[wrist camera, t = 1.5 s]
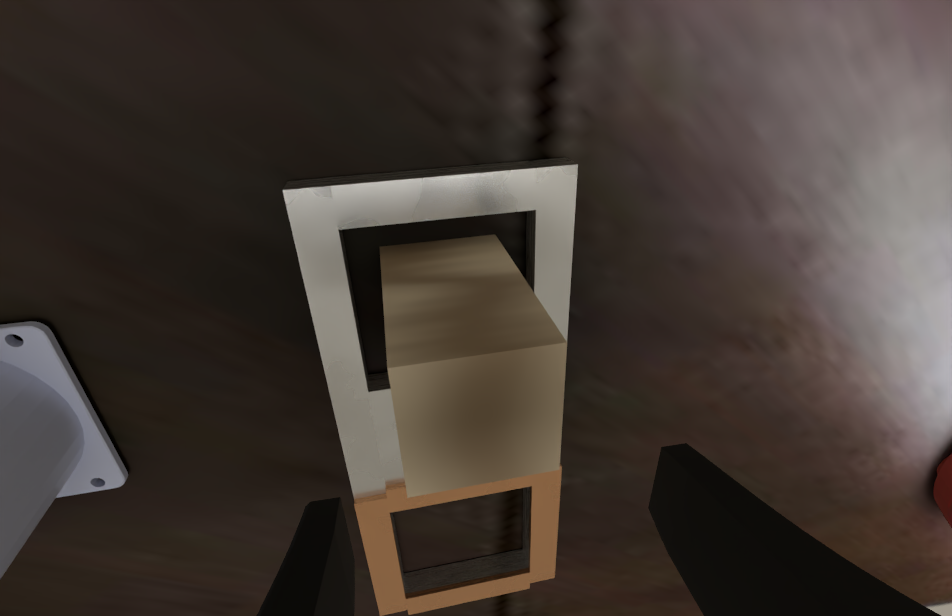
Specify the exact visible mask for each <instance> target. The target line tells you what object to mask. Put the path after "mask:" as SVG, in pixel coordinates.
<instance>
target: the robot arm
mask: <svg viewBox="0 0 952 616" xmlns="http://www.w3.org/2000/svg"><path fill="white" fill-rule="evenodd" d="M12 334H15V335H18V336H20V337H21V338H22V339H23V341H20V340H17V339H15V338H14V337H13V335H12ZM127 477H128V472H127V470H126V468H125V466H124V464H123V463H122V461H121V459H120V457H119V455H118V453H117V451H116V450H115V448H114V446H113V444H112V442H111V440H110V438H109V437H108V435H107V433H106V431H105V429H104V427H103V425H102V424H101V422H100V420H99V418H98V416H97V414H96V412H95V411H94V409H93V407H92V405H91V403H90V401H89V399H88V398H87V396H86V394H85V392H84V390H83V388H82V386H81V385H80V383H79V381H78V379H77V377H76V375H75V373H74V372H73V370H72V368H71V366H70V364H69V362H68V360H67V359H66V357H65V355H64V353H63V351H62V349H61V347H60V346H59V344H58V342H57V340H56V338H55V336H54V334H53V333H52V331H51V330H50V329H49V327H47V326H46V325H44V324H42V323H39V322H33V321H28V322H20V323H11V324H3V325H0V579H1V577H2V576H3V574H4V573H5V571H6V570H7V569H8V567H9V566H10V564H11V563H12V561H13V560H14V558H15V557H16V555H17V554H18V552H19V551H20V549H21V548H22V546H23V545H24V544H25V542H26V541H27V539H28V538H29V536H30V535H31V533H32V532H33V530H34V529H35V527H36V526H37V524H38V523H39V521H40V520H41V519H42V517H43V516H44V514H45V513H46V511H47V510H48V508H49V507H50V505H51V504H52V502H53V501H54V499H55V498H58V497H64V496H70V495H76V494H82V493H88V492H94V491H100V490H106V489H112V488H117V487H121V486H122V485H123V484H124V483H125V481H126V479H127ZM98 478H100V479H103V480H100V479H98ZM648 508H649V510H650V513H651V515H652V518H653V520H654V522H655V525H656V527H657V530H658V532H659V534H660V536H661V539H662V541H663V543H664V545H665V547H666V550H667V552H668V554H669V556H670V557H671V559H672V561H673V563H674V564H675V566H676V568H677V570H678V571H679V573H680V575H681V577H682V578H683V580H684V582H685V584H686V585H687V587H688V589H689V591H690V592H691V594H692V596H693V598H694V599H695V601H696V603H697V604H698V606H699V608H700V610H701V611H702V613H703V615H704V616H941V615H939V614H937V613H935V612H934V611H932V610H930V609H928V608H926V607H925V606H923V605H921V604H919V603H918V602H916V601H914V600H912V599H910V598H909V597H907V596H905V595H904V594H902V593H900V592H899V591H897V590H895V589H894V588H892V587H890V586H889V585H887V584H885V583H884V582H882V581H880V580H879V579H877V578H875V577H874V576H872V575H870V574H869V573H867V572H865V571H864V570H862V569H861V568H859V567H857V566H856V565H854V564H853V563H851V562H850V561H848V560H846V559H845V558H843V557H842V556H840V555H839V554H837V553H836V552H834V551H833V550H831V549H830V548H828V547H827V546H825V545H824V544H822V543H821V542H819V541H818V540H816V539H815V538H813V537H812V536H810V535H809V534H808V533H806V532H805V531H803V530H802V529H800V528H799V527H798V526H796V525H795V524H793V523H792V522H790V521H789V520H788V519H786V518H785V517H783V516H782V515H781V514H779V513H778V512H777V511H775V510H774V509H772V508H771V507H770V506H768V505H767V504H766V503H764V502H763V501H762V500H760V499H759V498H758V497H756V496H755V495H754V494H752V493H751V492H750V491H748V490H747V489H746V488H744V487H743V486H742V485H740V484H739V483H738V482H736V481H735V480H734V479H733V478H731V477H730V476H729V475H727V474H726V473H725V472H723V471H722V470H721V469H720V468H718V467H717V466H716V465H714V464H713V463H712V462H710V461H709V460H708V459H706V458H705V457H704V456H703V455H701V454H700V453H699V452H697V451H696V450H695V449H693V448H692V447H691V446H689V445H688V444H686V443H685V444H679V445H672V446H666V447H661V452H660V457H659V461H658V466H657V470H656V475H655V480H654V484H653V489H652V493H651V498H650V503H649V507H648ZM354 596H355V576H354V555H353V551H352V546H351V542H350V538H349V533H348V529H347V524H346V520H345V516H344V511H343V507H342V503H341V498H340V497H339V498H332V499H326V500H319V501H313V502H310V503H309V504H308V505H307V506H306V507H305V510H304V512H303V515H302V518H301V520H300V523H299V525H298V528H297V530H296V533H295V535H294V538H293V540H292V542H291V545H290V547H289V549H288V552H287V554H286V556H285V558H284V560H283V563H282V565H281V567H280V569H279V571H278V574H277V576H276V578H275V580H274V582H273V584H272V586H271V588H270V590H269V592H268V594H267V596H266V598H265V600H264V602H263V604H262V606H261V608H260V610H259V612H258V614H257V616H354Z"/></svg>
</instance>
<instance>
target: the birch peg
mask: <svg viewBox="0 0 952 616" xmlns="http://www.w3.org/2000/svg"><path fill="white" fill-rule="evenodd" d="M380 262H381V278H382V293H383V309H384V324H385V339H386V355H387V369H388V376H389V382H390V389H391V395H392V401H393V408H394V414H395V421H396V427H397V434H398V440H399V446H400V453H401V459H402V466H403V472H404V479H405V485H406V492H407V498H409V497H415V496H420V495H425V494H431V493H436V492H442V491H447V490H452V489H458V488H463V487H469V486H474V485H479V484H485V483H490V482H496V481H501V480H506V479H512V478H517V477H523V476H528V475H534V474H539V473H544V472H550V471H555V470H559V467H560V451H561V435H562V418H563V402H564V386H565V369H566V353H567V341H566V340H565V338H564V337H563V335H562V334H561V332H560V331H559V329H558V328H557V326H556V325H555V323H554V322H553V320H552V319H551V317H550V316H549V314H548V313H547V311H546V310H545V308H544V307H543V305H542V304H541V302H540V301H539V299H538V298H537V296H536V295H535V293H534V292H533V290H532V289H531V287H530V286H529V284H528V283H527V281H526V280H525V278H524V277H523V275H522V274H521V272H520V271H519V269H518V268H517V266H516V265H515V263H514V262H513V260H512V259H511V257H510V256H509V254H508V253H507V251H506V250H505V248H504V247H503V245H502V244H501V242H500V241H499V239H498V238H497V236H496V235H495V234H494V235H485V236H476V237H466V238H457V239H448V240H438V241H429V242H420V243H410V244H401V245H391V246H382V247H380Z"/></svg>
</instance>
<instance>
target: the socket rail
mask: <svg viewBox="0 0 952 616" xmlns="http://www.w3.org/2000/svg"><path fill="white" fill-rule="evenodd" d="M577 171H578V164H576V163H575V162H573V161H571V160H570V159H568V158H566V157H565V158H553V159H541V160H529V161H517V162H506V163H494V164H482V165H470V166H458V167H447V168H435V169H423V170H411V171H399V172H388V173H376V174H364V175H352V176H340V177H328V178H317V179H305V180H293V181H287V183H286V185H285V187H284V188H283V195H284V199H285V203H286V208H287V212H288V216H289V220H290V225H291V229H292V233H293V238H294V242H295V246H296V251H297V255H298V259H299V264H300V268H301V272H302V276H303V281H304V285H305V289H306V294H307V298H308V302H309V307H310V311H311V315H312V319H313V324H314V328H315V332H316V337H317V341H318V345H319V350H320V354H321V358H322V362H323V367H324V371H325V375H326V380H327V384H328V388H329V393H330V397H331V401H332V406H333V410H334V414H335V418H336V423H337V427H338V431H339V436H340V440H341V444H342V449H343V453H344V457H345V461H346V466H347V470H348V474H349V479H350V483H351V487H352V492H353V496H354V506H355V510H356V515H357V519H358V523H359V527H360V532H361V536H362V540H363V544H364V549H365V553H366V557H367V561H368V566H369V570H370V574H371V579H372V583H373V587H374V591H375V596H376V600H377V604H378V608H379V613H380V616H382V615H387V614H391V613H396V612H400V611H405V610H408V615H411V614H416V613H420V612H425V611H429V610H434V609H438V608H443V607H447V606H452V605H456V604H461V603H465V602H470V601H475V600H479V599H484V598H488V597H493V596H497V595H502V594H506V593H511V592H515V591H520V590H524V589H529V588H530V583H533V582H537V581H542V580H547V579H551V578H555V564H556V549H557V533H558V518H559V502H560V487H561V471H562V466H561V463H560V467H559V470H555V471H550V472H544V473H539V474H534V475H528V476H523V477H517V478H512V479H506V480H501V481H496V482H490V483H485V484H479V485H474V486H469V487H463V488H458V489H452V490H447V491H442V492H436V493H431V494H425V495H420V496H415V497H409V498H407V492H406V485H405V479H404V472H403V466H402V459H401V453H400V446H399V440H398V434H397V427H396V421H395V414H394V408H393V401H392V395H391V389H390V382H389V376H388V372H385V373H378V374H371V375H368V372H367V366H366V360H365V355H364V349H363V344H362V338H361V333H360V327H359V322H358V316H357V310H356V305H355V299H354V294H353V288H352V283H351V277H350V272H349V266H348V260H347V255H346V249H345V244H344V238H343V233H342V229H351V228H361V227H371V226H381V225H391V224H401V223H411V222H421V221H431V220H440V219H450V218H460V217H470V216H480V215H490V214H500V213H510V212H520V211H527V217H526V281H527V283H528V284H529V286H530V287H531V289H532V290H533V292H534V293H535V295H536V296H537V298H538V299H539V301H540V302H541V304H542V305H543V307H544V308H545V310H546V311H547V313H548V314H549V316H550V317H551V319H552V320H553V322H554V323H555V325H556V326H557V328H558V329H559V331H560V332H561V334H562V335H563V337H564V338H565V340H566V341H567V335H568V318H569V302H570V286H571V269H572V253H573V237H574V220H575V204H576V187H577ZM519 488H523V549H519V550H515V551H510V552H505V553H500V554H495V555H490V556H486V557H481V558H476V559H471V560H466V561H461V562H457V563H452V564H447V565H442V566H437V567H433V568H428V569H423V570H418V571H413V572H408V573H404V571H403V566H402V560H401V555H400V549H399V544H398V538H397V533H396V527H395V521H394V516H393V512H397V511H402V510H407V509H413V508H418V507H423V506H429V505H434V504H439V503H444V502H450V501H455V500H460V499H466V498H471V497H476V496H482V495H487V494H492V493H498V492H503V491H508V490H514V489H519Z"/></svg>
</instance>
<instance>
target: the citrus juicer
mask: <svg viewBox="0 0 952 616" xmlns="http://www.w3.org/2000/svg"><path fill="white" fill-rule="evenodd" d="M937 474H938V475H937V478H936V481H935V483H934V491H933V494H934V498H935V501H936V503H937V505H938V507H939V508H940V510H941V512H942V513H943V515H944V517H945V518H946V520H947V521H948V523H949V525H950V526H951V528H952V453H951V455H949V456H948V457H946V458H945V459H944V460H943V461H942V462H941V463H940V464H939V466H938V468H937Z"/></svg>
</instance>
